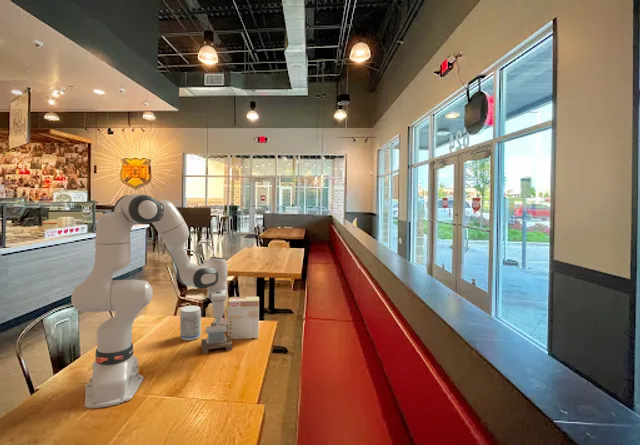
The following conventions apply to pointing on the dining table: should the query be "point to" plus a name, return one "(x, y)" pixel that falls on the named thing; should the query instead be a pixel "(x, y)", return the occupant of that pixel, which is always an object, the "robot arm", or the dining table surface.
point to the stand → (216, 345)
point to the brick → (221, 322)
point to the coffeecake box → (243, 317)
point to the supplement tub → (190, 322)
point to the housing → (216, 334)
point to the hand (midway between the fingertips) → (217, 322)
